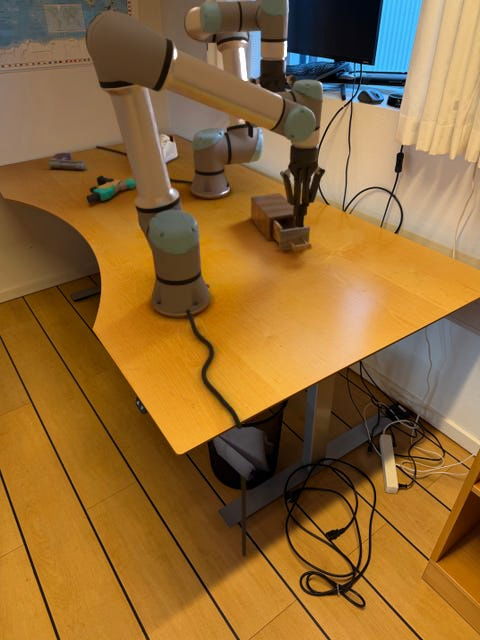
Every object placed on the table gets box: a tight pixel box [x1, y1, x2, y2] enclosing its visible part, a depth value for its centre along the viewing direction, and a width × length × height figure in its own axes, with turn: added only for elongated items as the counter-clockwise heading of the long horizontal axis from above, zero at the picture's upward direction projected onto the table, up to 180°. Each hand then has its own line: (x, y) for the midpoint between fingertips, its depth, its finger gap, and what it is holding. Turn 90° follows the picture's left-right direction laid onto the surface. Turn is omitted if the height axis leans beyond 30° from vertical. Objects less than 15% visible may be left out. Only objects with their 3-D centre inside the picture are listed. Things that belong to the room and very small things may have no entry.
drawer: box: [271, 216, 313, 252], centre depth 150 cm, size 23×10×6 cm, turn 17°
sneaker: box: [159, 133, 179, 164], centre depth 214 cm, size 10×29×12 cm, turn 163°
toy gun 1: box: [47, 152, 87, 171], centre depth 216 cm, size 4×19×15 cm
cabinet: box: [250, 192, 294, 241], centre depth 160 cm, size 18×11×8 cm, turn 17°
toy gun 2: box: [86, 175, 136, 204], centre depth 187 cm, size 4×26×15 cm
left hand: (299, 225), depth 141 cm, fingers closed
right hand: (271, 134), depth 149 cm, fingers open, 13 cm apart
